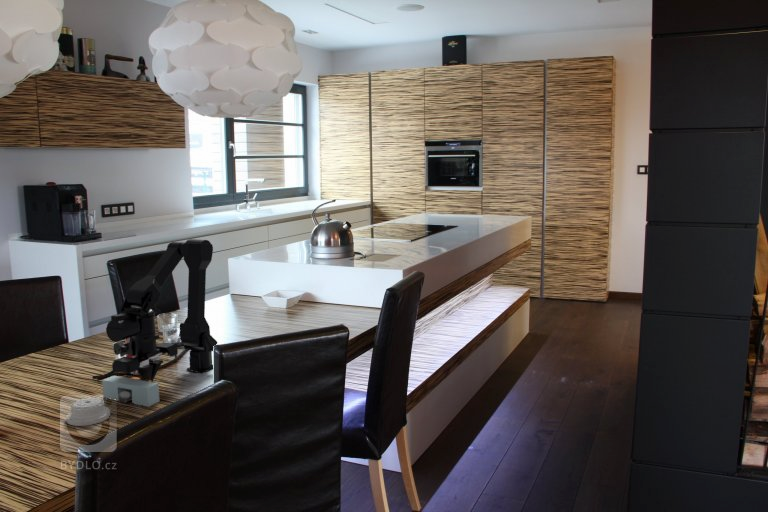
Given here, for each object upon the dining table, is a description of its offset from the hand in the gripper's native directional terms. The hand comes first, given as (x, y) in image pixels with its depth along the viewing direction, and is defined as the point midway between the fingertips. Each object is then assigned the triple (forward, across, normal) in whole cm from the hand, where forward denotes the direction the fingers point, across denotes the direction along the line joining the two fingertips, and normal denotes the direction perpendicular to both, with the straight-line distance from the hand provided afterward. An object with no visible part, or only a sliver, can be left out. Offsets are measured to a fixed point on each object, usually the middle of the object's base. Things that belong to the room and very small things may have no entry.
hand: (148, 387), depth 182 cm
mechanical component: (+2, +20, 0) cm, 20 cm away
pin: (+1, +5, 0) cm, 6 cm away
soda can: (+2, -12, -15) cm, 19 cm away
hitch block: (+1, +6, 0) cm, 6 cm away
